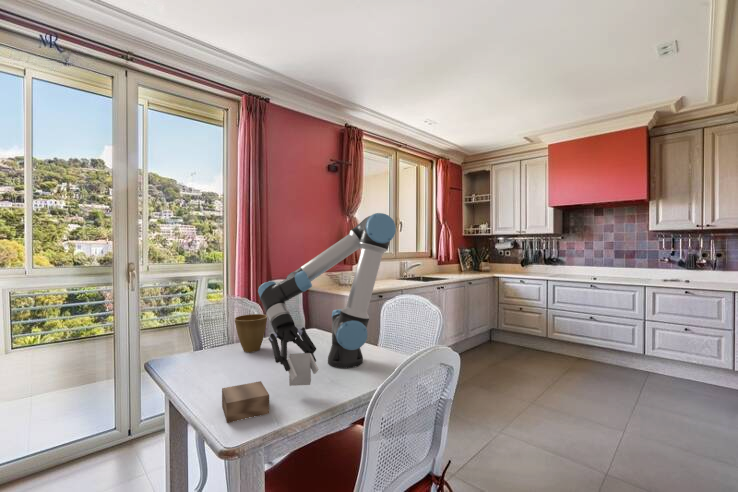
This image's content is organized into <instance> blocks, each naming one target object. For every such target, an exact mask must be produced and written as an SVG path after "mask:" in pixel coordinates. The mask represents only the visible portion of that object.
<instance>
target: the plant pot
mask: <svg viewBox="0 0 738 492" xmlns="http://www.w3.org/2000/svg"><path fill="white" fill-rule="evenodd" d="M267 320H268V315H267V314H263V313H254V314H252V313H251V314H244V315H238V316H236V317H234V324H235V329H236V333H237V336H238V340H239V344H240V345H241V348H242V351H243V352H244V353H256V352H258V351H260V349H261V346H262V343H263V341H264V338H265V337H264V336H265V332H266V326H267V322H268V321H267Z"/></svg>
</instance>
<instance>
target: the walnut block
mask: <svg viewBox="0 0 738 492" xmlns="http://www.w3.org/2000/svg"><path fill="white" fill-rule="evenodd" d="M221 407H222V411H223V416H224V418H225V421H226V424H229V423H234V422H238V421H237V420H239V421H241V419H243V420H246V419H245V418H248V419H250V418H249V417H252V418H255V417H254V416H257V417H261V416H265V415H269V414H270V393H269V392H268V391H267V389H266V387H265V385H264V384H263V382H262V380H260V381H256V382H254V381H253V382H247V383H244V384H238V385H232V386H226V387H222V388H221ZM260 415H261V416H260ZM233 421H234V422H233Z"/></svg>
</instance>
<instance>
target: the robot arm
mask: <svg viewBox="0 0 738 492" xmlns="http://www.w3.org/2000/svg"><path fill="white" fill-rule="evenodd" d="M396 231H397V229H396V223H395V221H394V219H393V218H392V217H391V216H390V215H388V214H385V213H384V212H383V213H382V212H377V213H373V214H371V215H369V216H367V217H365V218H364V219H363V220H362V221H360V222H359V224H357V225H356V226H355V227H353V228H352V229H351V230H350V231H349V233H348V234H347V235H345V236H344V237H342V238H340V240H339V241H337V242H336V243H334V244H332V245H331V246H329V247H328V248H327V249H325V250H323V251H322V252H321V253H319V254H318V255H316V256H315V257H313V258H312V259H310V260H308V262H305V264H302V266H300V267H299V268H297V269H295V270H294V271H292V272H291V273H289V274H288V275H287V276H286V278H285V279H283V280H282V281H280V282H275V281H272V280H268V282H265V281H264V283H262V284H260V285H259V287H258V290H257V293H258V295H259V300H260V302H261V304H262V307H263V308H264V311H265V313H266V315H267V319H268V320H269V322H270V323H271V328H272V330H273V332H274V333H270V335H269V337H268V341H269V342H270V344H271V349H272V352H273V357H274V362H275V363H277V364H280V365H282V366H283V368H284V370H285V372H288V375H289V374H290V377H291V379H292V381H294V380H295V379H296V377H297V374H296V372H295V370H294V367H293V365H292V363H291V360H290V358H288V343H289V342H290V343H293V344H296V346H298V348H299V349H301V351H302V352H303V353H310V362H311V373H312V374H313V375H316V374H317V373H318V372H319V367H318V366H317V363H316V362H317V359H316V357H315V355H314V354H315V352H316V351H317V347H316V346H315V344H314V342H313V341H312V339H311V338H310V336H309V334H308V333H307V331H306V330H307V329H306V328H305V327H302V328H297V327H296V325H295V321H294V319H293V317H292V315H291V313H290V310H289V308H288V306H287V304H286V302H288V301H289V300H291V299H292V298H295V297H297V296H299V295H300V294H303V293H304V292H307V291H308V290H309V289H312V287H313V283H312V281H315V279H317V278H318V277H320V276H321V275H323V274H324V273H326V272H327V271H328V270H330V269H331V268H333V267H334V266H336V265H337V264H339V263H340V262H342V261H343V260H345V259H346V258H347V257H349V256H351V255H352V254H354V253H355V252H357V250H358V251H359V249H360V250H361V251H360V253H359V257H358V262H357V264H356V268H355V273H354V276H353V279H352V282H351V283H352V284H351V286H350V287H351V288H350V290H349V294H348V298H347V302H346V304H345V307H342V308H338V309H334V310H332V312H331V346H330V350H329V353H328V356H327V364H328V365H329V366H330V367H332V368H338V369H352V368H356V367H359V366H361V365H363V364H364V356H363V353H362V350H361V348H362V346H364V344H365V343H366V341H367V339H368V334H369V333H368V325H369V321H370V315H369V314H368V311H369V306H370V303H371V298H372V295H373V291H374V288H375V284H376V280H377V276H378V273H379V269H380V265H381V261H382V257H383V256H384V255H383V254H385V253H386V252H388V250H389V246H390V243H391V241H392V240H393V238H394V237H395V235H396ZM278 339H279V340H280V346H279V342H278Z"/></svg>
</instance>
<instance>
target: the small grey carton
mask: <svg viewBox="0 0 738 492" xmlns="http://www.w3.org/2000/svg"><path fill="white" fill-rule="evenodd" d="M289 359H290V360H291V363H292V365H293V367H294V370H295V372H296V374H297V377H296V379H295V380H294V381H292V379H291V377H290V374H289V373H288V375H289V376H288V377H289V381H288V382H289V387H291V386H293V387H294V386H296V387H297V386H310V385H311V381H312V378H311V375H312V369H311V362H310V353H304V352H303V353H301V352H300V353H289Z"/></svg>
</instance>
